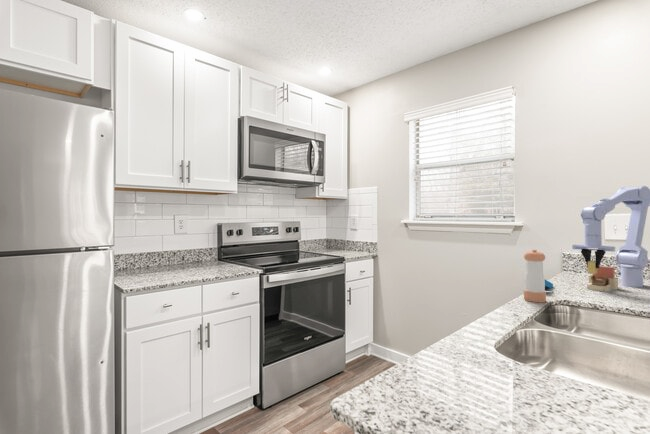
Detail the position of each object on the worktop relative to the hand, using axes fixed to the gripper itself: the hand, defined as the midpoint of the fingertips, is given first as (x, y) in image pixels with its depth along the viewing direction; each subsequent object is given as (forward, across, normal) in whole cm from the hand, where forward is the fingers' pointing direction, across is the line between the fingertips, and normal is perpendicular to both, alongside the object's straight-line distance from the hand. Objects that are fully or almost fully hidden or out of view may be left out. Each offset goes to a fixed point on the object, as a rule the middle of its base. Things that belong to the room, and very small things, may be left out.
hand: (593, 267), depth 150 cm
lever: (+10, -15, -17) cm, 25 cm away
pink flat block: (+5, +2, +6) cm, 8 cm away
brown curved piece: (+9, +2, +4) cm, 10 cm away
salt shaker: (+10, -8, -36) cm, 38 cm away
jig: (+10, +2, +4) cm, 11 cm away
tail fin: (+2, 0, -1) cm, 2 cm away
